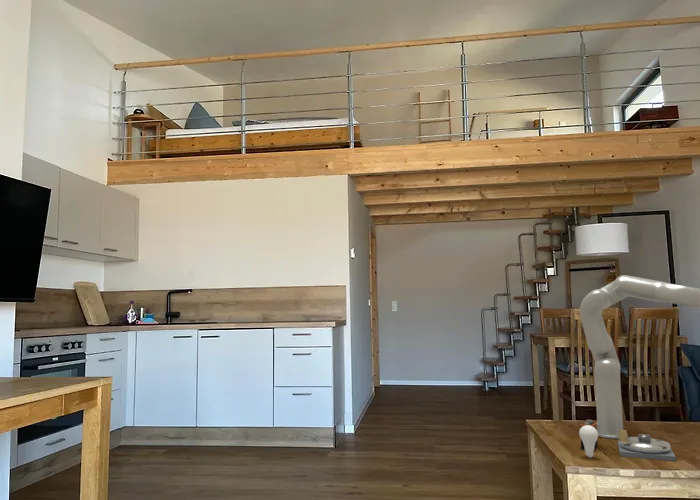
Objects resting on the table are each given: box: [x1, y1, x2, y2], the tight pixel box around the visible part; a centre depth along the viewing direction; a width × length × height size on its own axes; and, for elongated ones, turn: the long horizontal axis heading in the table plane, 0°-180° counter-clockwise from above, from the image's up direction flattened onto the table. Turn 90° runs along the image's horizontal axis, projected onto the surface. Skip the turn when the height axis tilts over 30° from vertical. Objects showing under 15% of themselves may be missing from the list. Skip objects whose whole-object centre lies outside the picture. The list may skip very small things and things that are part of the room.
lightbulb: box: [578, 425, 599, 459], centre depth 192 cm, size 6×6×11 cm
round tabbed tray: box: [618, 429, 672, 453], centre depth 198 cm, size 16×16×6 cm
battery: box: [579, 419, 599, 451], centre depth 204 cm, size 4×7×10 cm, turn 142°
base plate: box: [617, 440, 677, 462], centre depth 198 cm, size 17×17×2 cm
